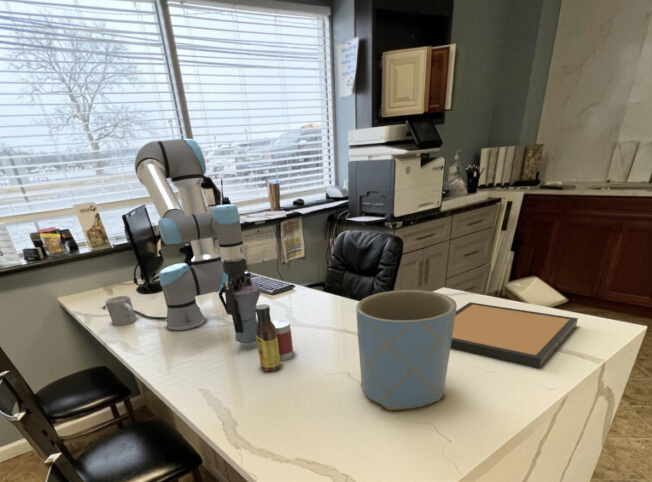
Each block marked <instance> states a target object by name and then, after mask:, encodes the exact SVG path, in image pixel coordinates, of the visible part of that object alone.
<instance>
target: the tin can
mask: <svg viewBox="0 0 652 482" xmlns="http://www.w3.org/2000/svg"><path fill="white" fill-rule="evenodd" d="M271 322H272V323H273V324H274V325H275V328H276V334H277V339H278V347H279V355H280V361H286V360H290V359H292V358H293V356H294V346H293V337H292V336H293V335H292V329H291V322H290V321H289V320H285V319H281V320H279V319H278V320H273V321H271Z"/></svg>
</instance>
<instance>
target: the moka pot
mask: <svg viewBox="0 0 652 482" xmlns="http://www.w3.org/2000/svg"><path fill="white" fill-rule="evenodd" d="M233 290H234V289H233ZM262 293H263V292H262V290H260V289H258V288H257V286H253V285H252V286H244V282H243V281H242V284H241V290H240V291H239V292H234V299H235V300H236V301H237V304H238V308H239V310H238V313H240V315H241V321H242V327H243V333H236V332H235V341H236V342H237V343H240V344H252V343H257V340H256V334H255V333H256V328H257V323H258V318H257V313H256V309H255V307H256V306H258V305H257V304H258V301H259V298H260V295H261V294H262ZM223 294H225V290H224V287H222V289H221V290H220V291H218V297H219V300H220V302H221V304H222V306H223V308H224V310H225V313H227V309H226V299H225V297H224V296H223ZM229 315H230V316H232V315H231V314H229Z"/></svg>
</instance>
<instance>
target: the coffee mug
mask: <svg viewBox="0 0 652 482" xmlns="http://www.w3.org/2000/svg"><path fill="white" fill-rule="evenodd" d="M105 305H107V307H106V308H107V311H108V314H109V317H110V319H111V322H112V325H114V326H125V325H129V324H131V323H134V322H136V320H137V316H136V312H134V310H135V309H134V307H133V303H132V301H131V297H130V295H117V296H113V297H110V298H107V299H105Z"/></svg>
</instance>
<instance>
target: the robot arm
mask: <svg viewBox="0 0 652 482" xmlns="http://www.w3.org/2000/svg"><path fill="white" fill-rule="evenodd" d="M134 171H135V174H136V177H137V180H138V181H139V182H140V183H141V184H142V185H143V186H144V187H145V189H146V191H147V193H148V195H149V197H150V199H151V201H152V203H153V205H154V207H155V210H156V211H157V214H158V216H159V218H160V219H159V220H158V221H157V226H158V231H159V234H160V237H161V240H162V242H163V243H164V244H165V245H175V244H176V245H179V244H183V243H188V242H190V246H191V249H192V253H193V257H192V258H191V261H190V262H191V265H189V264H188V263H186V262H180V263H175V264H172V265H169V266H166V267H165V268H163V269H161V270H160V271H159V273H158V278H159V283H160V286H161V289H162V293H163V297H164V301H165V304H166V305H165V306H166V309H167V310H166V311H167V312H166V316H150V315H146V314H144V313H142V312H139V311H138V310H135V309H133V310H134V313H135V314H138V315H141V316H142V317H144V318H147V319H153V320H154V319H155V320H166V325H167V328H168V329H169V330H170V331H178V332H179V331H186V330H192V329H196V328H198V327H200V326H202V325H204V323H205V322H206V318H205V316H204V314H203V312H202V310H201V307H200V306H199V304H197V300H196V297H199V296H203V295H208V294H212V293H219V292H220V290H221V289H222V287H224V290H225V293H224V296H225V297H224V299H225V303H226V309H227V312H226V314H227V315H230V314H231V315H230V316H231V317H232V318H231V319H232V323H233V329H234V332H235V334H236V333H243V327H242V321H241V315H240V313H238V310H239V308H238V304H237V301H236V300H235V299H234V292H239V291H240V290H241V284H242V281H243V282H244V286H253V283H252V276H251V272H247V271H248V263H247V260H246V258H245V257H246V252H245V245H244V240H243V239H244V238H243V233H242V226H241V218H240V217H241V216H240V215H239V209H238V206H237V205H236V204H233V203H232V204H229V203H227V204H219V205H216V206H214V207H212V209H211V210H208V211H207V207H206V203H205V199H204V195H203V190H202V184H203V181H204V175H205V174H206V173H207V167H206V160H205V156H204V153H203V151H202V149H201V146H200V145H199V143H198V142H197V141H196V140H195V139H193V138H176V139H166V140H154V141H149V142H147V143H146V144H144V145H142V146H141V147H140V149H139V150H138V152H137V153H136V156H135V159H134ZM168 179H170V182H171V185H173V186H174V187H175V188H176V189H177V192H178V196H179V200H180V202H179V200H178V197H177V196H176V194H175V192H174V190H173V188H172V187H171V185H170V182H169V181H168ZM213 238H217V243H218V248H219V253H218V252H216V247H215V243H214V239H213ZM233 289H234V290H233ZM104 305H105V306H107V305H106V304H104ZM104 305H103V307H102V308H103V309H105V308H106V307H105V306H104Z"/></svg>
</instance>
